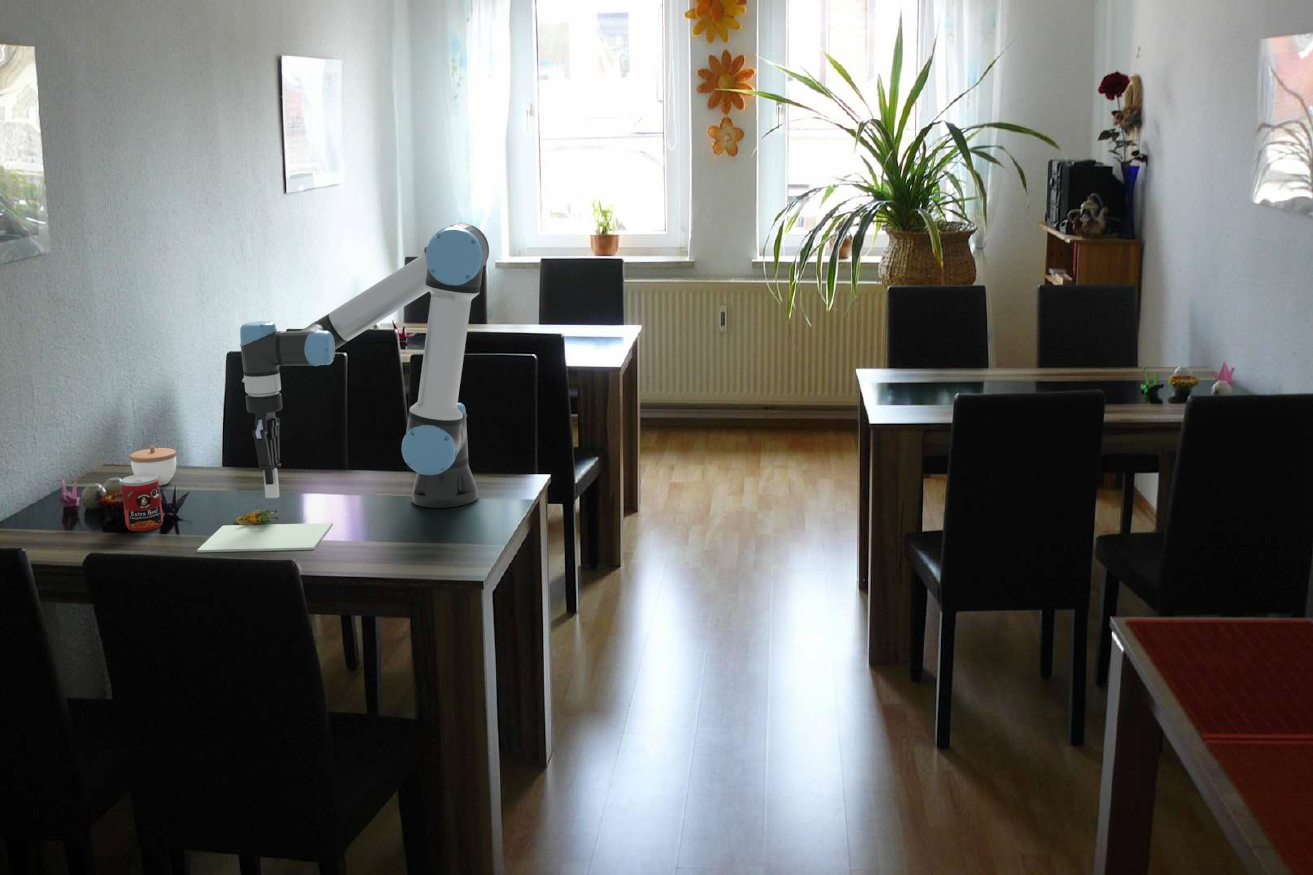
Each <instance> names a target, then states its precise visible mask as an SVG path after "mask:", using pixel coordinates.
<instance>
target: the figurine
mask: <svg viewBox="0 0 1313 875" xmlns="http://www.w3.org/2000/svg"><path fill="white" fill-rule="evenodd" d="M278 512H279V511H278V509H275V510H270V509H267V510H260V509H255V510H253V511H251V513H248V514H243V515H241V516H238V517H236V518H234V519H235V521H237V523H238V525H249V524H252V525H262V524H265V523H267V522H270V521H274V520H279V516H275V517H274V516H273V517H272V515H271V514H274V513H278ZM240 521H242V522H240Z"/></svg>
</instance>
